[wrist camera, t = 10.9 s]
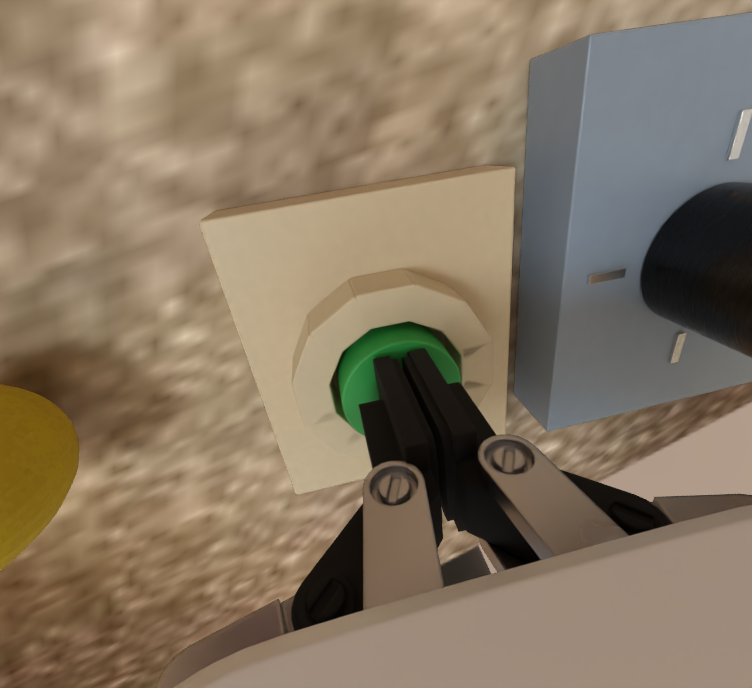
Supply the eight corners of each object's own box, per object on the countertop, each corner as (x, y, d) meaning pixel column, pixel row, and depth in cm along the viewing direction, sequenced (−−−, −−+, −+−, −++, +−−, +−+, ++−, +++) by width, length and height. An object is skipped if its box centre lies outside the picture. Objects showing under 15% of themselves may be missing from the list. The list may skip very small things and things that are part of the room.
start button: (446, 400, 15) (463, 429, 13) (347, 423, 14) (353, 455, 13) (441, 308, 13) (460, 329, 11) (326, 331, 12) (330, 356, 11)
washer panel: (703, 350, 20) (767, 381, 17) (513, 394, 19) (549, 435, 16) (812, 18, 13) (944, -17, 11) (529, 59, 12) (594, 32, 10)
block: (485, 415, 19) (526, 473, 16) (296, 460, 18) (295, 532, 15) (486, 164, 14) (550, 168, 10) (212, 210, 13) (179, 232, 9)
